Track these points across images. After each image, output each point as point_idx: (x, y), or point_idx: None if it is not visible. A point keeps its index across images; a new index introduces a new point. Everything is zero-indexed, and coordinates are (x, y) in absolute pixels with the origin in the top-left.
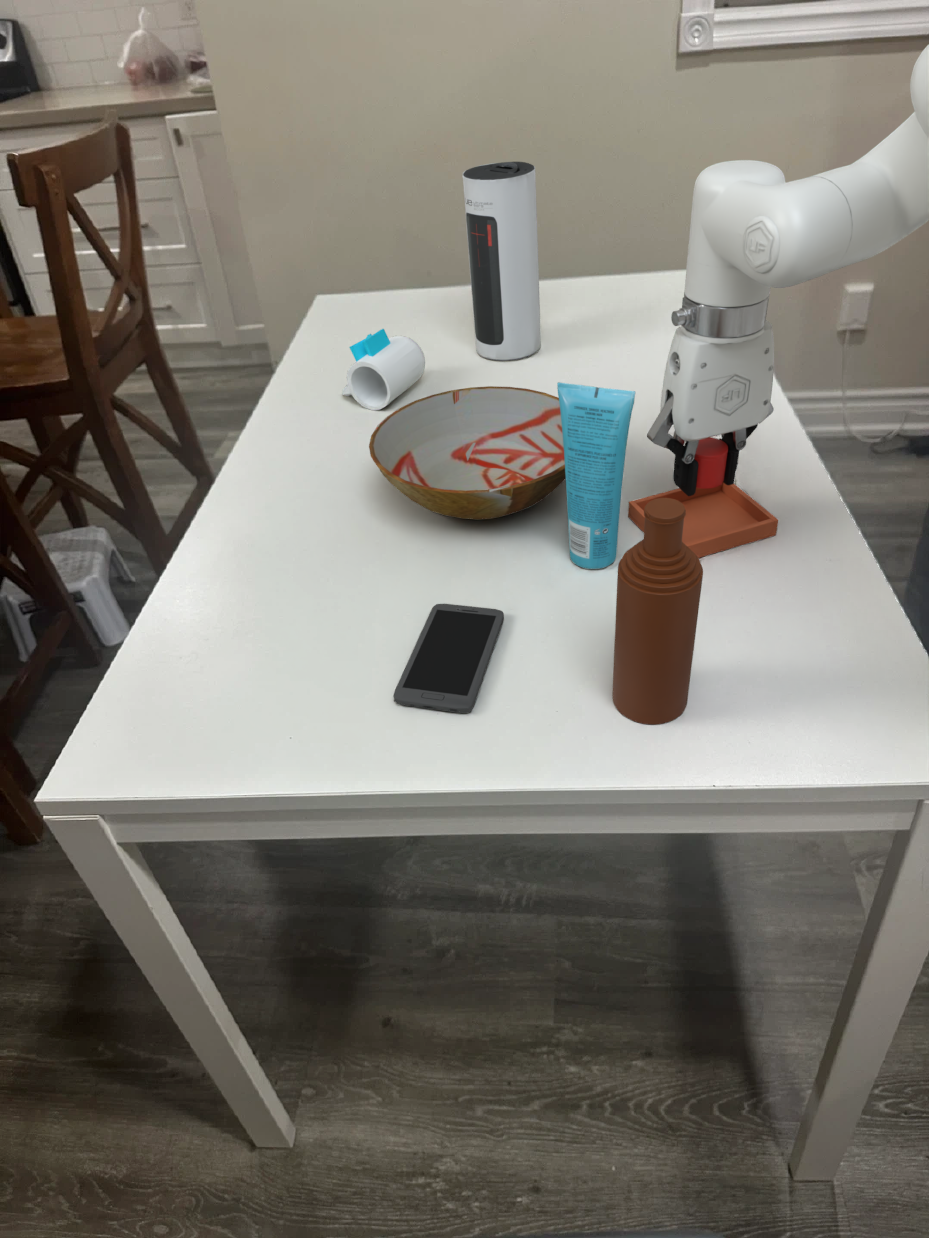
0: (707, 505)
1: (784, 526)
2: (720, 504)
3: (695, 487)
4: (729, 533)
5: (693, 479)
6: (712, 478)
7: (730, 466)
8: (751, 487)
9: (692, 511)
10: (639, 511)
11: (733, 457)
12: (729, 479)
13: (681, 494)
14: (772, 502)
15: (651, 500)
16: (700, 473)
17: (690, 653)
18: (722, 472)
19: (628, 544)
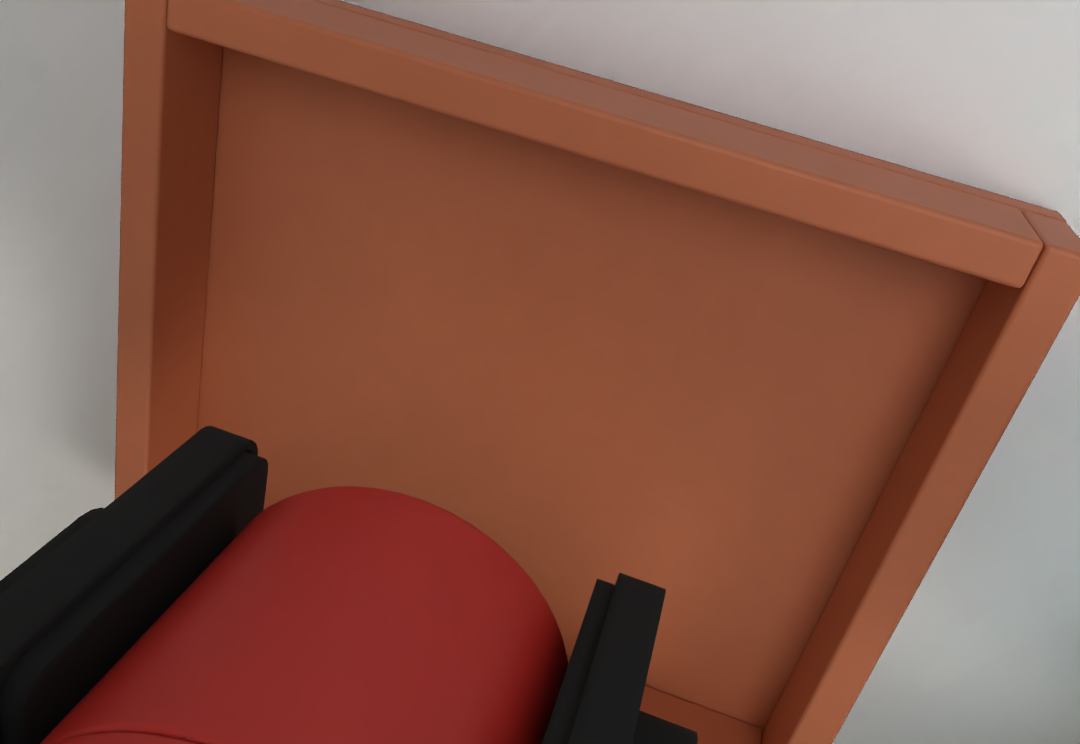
0: (356, 484)
1: (99, 6)
2: (288, 436)
3: (589, 622)
4: (562, 108)
5: (613, 714)
6: (407, 584)
7: (135, 569)
8: (29, 423)
9: (474, 509)
10: (831, 736)
11: (35, 634)
12: (220, 476)
13: None
14: (13, 246)
15: None
16: (492, 722)
17: None
18: (263, 570)
19: (1049, 588)
